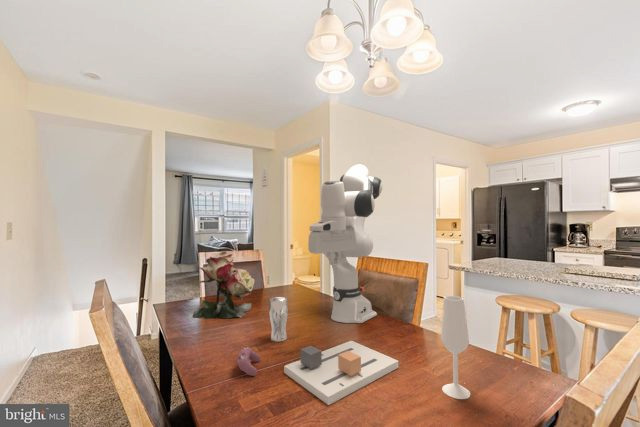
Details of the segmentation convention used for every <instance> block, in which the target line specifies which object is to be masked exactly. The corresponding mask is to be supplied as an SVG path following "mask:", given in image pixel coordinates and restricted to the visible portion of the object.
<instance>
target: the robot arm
mask: <svg viewBox="0 0 640 427" xmlns="http://www.w3.org/2000/svg"><path fill="white" fill-rule="evenodd" d="M382 190H383V182H382V180H381V178H379V177H376V176H370V171H369V169H368V168H367V167H366V165H364V164H355V165H353V166H351V167H350V168H349V169H348V170H347V171H346V172H345V173H344V174H342V175H341V177H340V179H339V180H332V181H325V182H324V183H322V186H321V195H320V207H321V216H320V220H319V221H317V222H315V223H312V224H310V225H309V227H308V228H309V231H310V233H309V235H308V243H307V244H308V248H307V249H308V251H309V253H311V254H315V255H317V254H323V255H324V256H325V257H326V258H327V260H328V262H329V265H330V266H331V268H332V273H333V274H332V275H333V287H332V294H333V303H332V309H331V310H332V312H331V316H330V318H331V320H333V321H334V322H338V323H347V324H350V323H351V324H352V323H353V324H354V323H355V324H362V323H364V322H366V321H368V320H370V319H372V318H374V317H376V316H378V313H377V312H376V311H375V310H373V308H372V303H371V301H370V300H369V299H367V298H366V297H365V296H364V295H363V294H362V293H361V292H365V289H366V287H364V286H359V273H358V270H357V268H356V267H355V266H354V265H353V264H350V263H349V261H348V259H347V258H363V257H369V255H371V253H372V251H373V248H374V243H373V239H372V238H371V236H370V235H369V234H367V233H366V232H365V229H364V226H365V221H366V218H369V217H370V215H372V214H373V213H374V210H375V200H376V199H378V197H380V195H381V194H382Z"/></svg>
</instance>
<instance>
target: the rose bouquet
mask: <svg viewBox="0 0 640 427" xmlns="http://www.w3.org/2000/svg"><path fill="white" fill-rule="evenodd" d="M234 258H235V257H234V256H233V253H230V251H225V250H224V251H221V252H220V253H218V254H215V255H214V256H209V258H206V260H205V262H206V265H207V266H202V267H200V266H199V267H198V269H200V270H201V271H203V273H204V274H205V275H206V277H207V278H208V279H205V280H200V281H198V282H197V284H202V283H212V282H215V281H216V283H215V285H216V286H217V289H216V302H215V303H214V302H213V301H209V300H206V299H202V300H200V302H201V303H202V306H200V307H197V309H196V310H194V311H193V314H192V317H193V318H194V319H195V318H199V319H204V320H209V319H211V320H212V319H214V320H215V319H220V318H221V319H234V318H243V316H246V314H245V313H246V312H248V311H250V310H252V302H248V303H246V302H244V303H241V304H242V305H238V304H237V305H238V306H234V305H235V303H234V301H233V300H232V296H234V297H235V298H237V300H240V301H241V302H243V298H245V297H248V296H250V295H251V294H252V291H253V289H254V285H255V281H256V279H255V278H252V276H251V275H250V272H248V271H247V270H246V269H242V268H235V267H234V265H235V262H234ZM188 290H189V289H188ZM221 297H222V298H223V300H222V301H221V300H220V298H221ZM234 307H235V308H234ZM239 313H241V314H239ZM241 315H242V316H241ZM193 318H192V319H193Z"/></svg>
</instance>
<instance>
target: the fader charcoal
mask: <svg viewBox="0 0 640 427" xmlns="http://www.w3.org/2000/svg"><path fill="white" fill-rule="evenodd" d="M321 352H322V350H321V349H318V348H317V347H315V346H313V345H308V346H306V347H303V348H300V360H301V363H302V364H303V365H305V366H306V367H308V368H310V369H313V368H315V367H317V366H320V365H322V354H321Z"/></svg>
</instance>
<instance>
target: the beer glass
mask: <svg viewBox="0 0 640 427" xmlns="http://www.w3.org/2000/svg"><path fill="white" fill-rule="evenodd" d="M268 309H269V311H268V312H269V319H270V325H271V326H270V327H271V334H270V341H272V342H278V343H279V342H283V341H285V340H287V338H288V336H287V328H286V327H287V320H288V309H289V306H288V297H285V296H274V297H271V298H269V308H268Z"/></svg>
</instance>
